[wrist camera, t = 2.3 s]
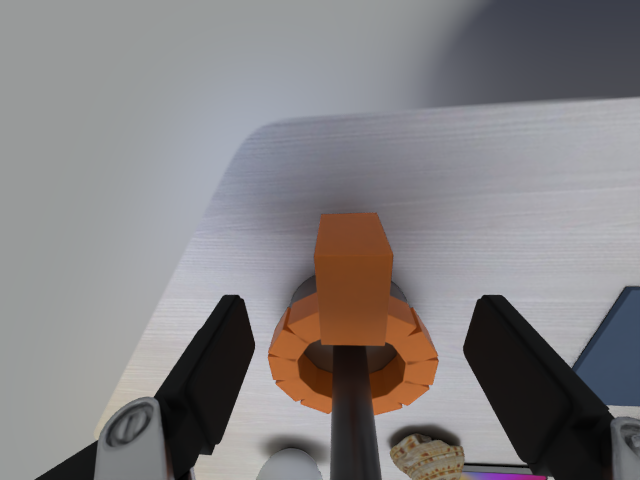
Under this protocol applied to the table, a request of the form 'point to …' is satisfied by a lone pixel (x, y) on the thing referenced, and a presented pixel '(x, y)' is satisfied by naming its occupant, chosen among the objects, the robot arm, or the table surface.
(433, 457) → the seashell
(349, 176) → the table surface
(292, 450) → the baroque pearl
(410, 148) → the table surface
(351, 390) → the stake
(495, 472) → the smartphone
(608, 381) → the mat
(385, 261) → the ring
